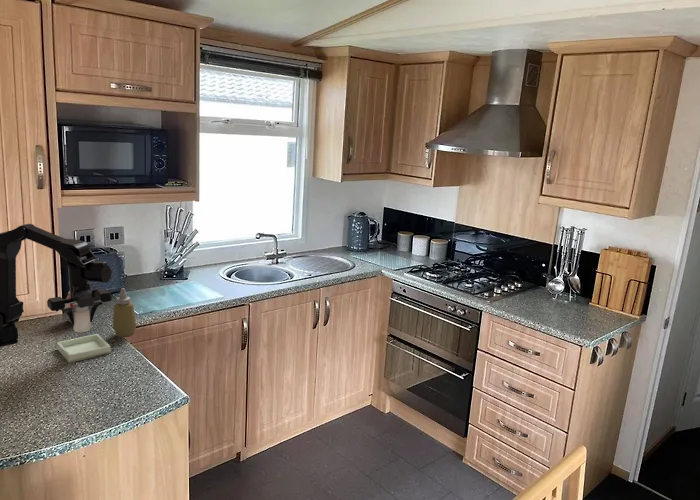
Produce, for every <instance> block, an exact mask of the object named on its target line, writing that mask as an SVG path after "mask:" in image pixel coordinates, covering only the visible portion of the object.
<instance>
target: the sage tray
mask: <svg viewBox="0 0 700 500" xmlns="http://www.w3.org/2000/svg"><path fill="white" fill-rule="evenodd" d="M56 346H57V351H59V353H60V354H61V356H62V357H64V359H65V360H66V361H67V363H68V364H70V363H75V362H79V361H83V360H88V359H91V358H95V357H99V356H102V355H109V354H111V353H112V350H111V349H112V348H111V347H112V346H111V345H110V344H109V343H108V342H107V341H106V340H105V339H103V337H102V336H101V335H100V334H98V333H95V334H89V335H86V336H80V337H76V338H72V339H67V340H61V341H58V342H57V343H56Z"/></svg>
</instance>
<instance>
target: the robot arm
mask: <svg viewBox="0 0 700 500" xmlns="http://www.w3.org/2000/svg"><path fill="white" fill-rule="evenodd" d="M24 240H29V241H32V242H34V243H36V244H39V245H42V246H44V247H46V248H49V249H51V250H53V251H55V252H57V253H58V255H59V256H60V257H62V258H63V259H65V261H64V262H63V263H62V264H61V267H67V269H68V285H69V291H70V298H69V299H67V298H62V297H61V296H57V297H56V296H54V297H50V298H48V299H47V301H46V303H47V308H48V309H49V310H50V311H51V312H55V311H62V312H64V313H65V314H66V316H67V319H68V318H69V320H70V324H71V326H74V319H73V314H72V308H71V307H70V304H74V303H77V304H78V306H79V307H80V308H84V307H87V306H89V309H90V323H92V322H93V319H94V318H95V313H96V311H97V309H98V307H99V306H101V305H103V303H107V302H112V301H113V297H112V293H111V292H109V291H108V290H107V289H106V288H105V289H99V288H98V289H91V285H90V282H95V283H96V282H97V283H108V282H109V281H110V280H111V278H112V275H113V274H112V269H111V267H110V266H109V265H108V262H107V261H98V258H97V257H96V256H95V254H94V253H93V251H92V250H91V249H90V246H89V244H88V243H87V242H86V241H83V240H79V239H73V238H65V237H62V236H60V235H57V234H54V233H52V232H50V231H48V230H45V229H42V228H40V227H37V226H36V225H34V224H33V223H26V224H22V225H19V226H18V227H16V228H14V229H11V230H7V231H4V232H0V345H1V346H6V345H10V344H15V343H18V342H19V340H18V339H19V331H18V327H17V325H16V324H15V323H18V322H19V321H20V318H21V317H22V315H23V313H24V302H23V301H20V299H19V298H18V297H17V261H16V260H17V256H18V254H19V252H20V250H21V248H22V242H23V241H24Z"/></svg>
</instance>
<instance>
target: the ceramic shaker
mask: <svg viewBox="0 0 700 500" xmlns="http://www.w3.org/2000/svg"><path fill="white" fill-rule="evenodd" d="M72 313H73V319H74V326H73V327H72V328H73V331H74V332H75V333H85V332H88V331H90V330H91V328H92V327H91V325H92V322H90V309H89V306H87V307H84V308H80V307H79V306H78V304H77V303H74V304H73V310H72Z"/></svg>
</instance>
